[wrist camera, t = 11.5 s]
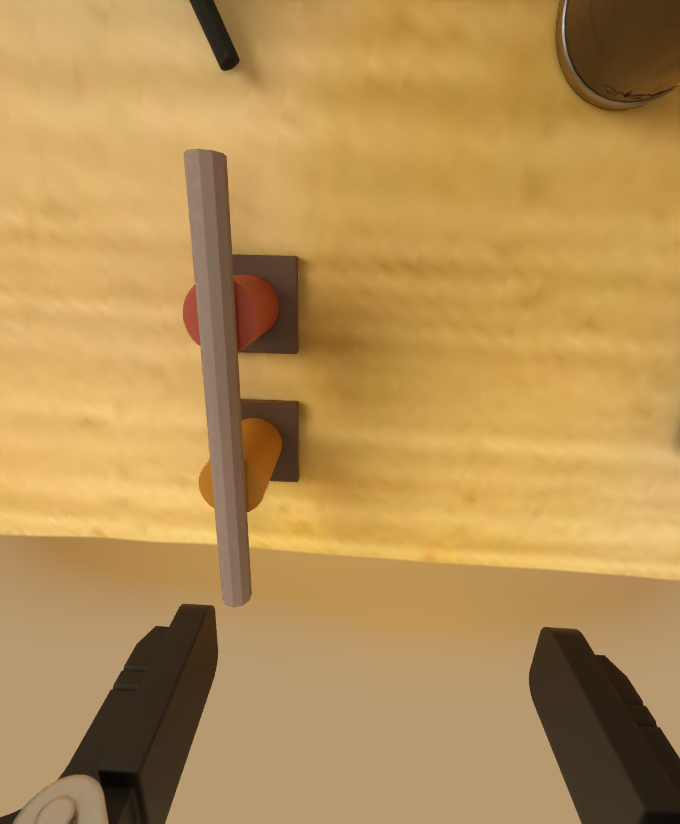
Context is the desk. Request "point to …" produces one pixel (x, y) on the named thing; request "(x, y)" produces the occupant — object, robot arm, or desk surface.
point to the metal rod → (220, 363)
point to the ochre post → (264, 448)
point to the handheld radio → (216, 33)
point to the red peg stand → (259, 304)
